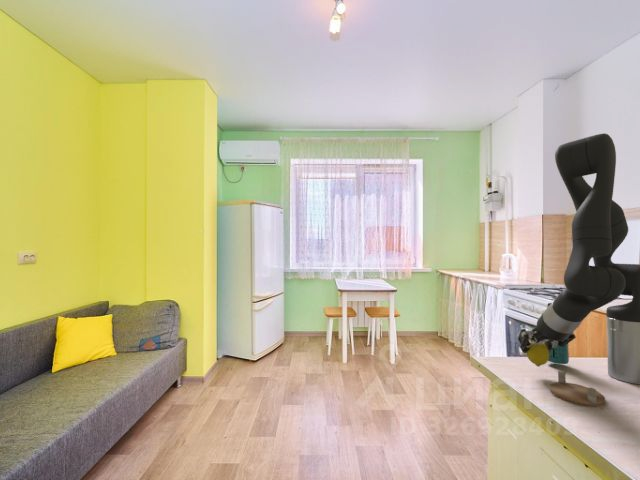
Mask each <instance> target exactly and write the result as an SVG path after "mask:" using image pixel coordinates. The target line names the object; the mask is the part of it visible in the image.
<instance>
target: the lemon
mask: <svg viewBox="0 0 640 480" xmlns="http://www.w3.org/2000/svg"><path fill="white" fill-rule="evenodd" d="M536 341H537V340H536ZM529 342H530V343H531V341H529ZM526 356H527V359H528V360H529V361H530V362H531V363H532V364H534V365H535V366H536V367H541V366H543V365H546V364H547V363H548V362H549V361H548V360H549V351H548V348H547V346H546V345H545V344H544V342H543V343H541V344H539V345H538V346H536V345H534V346H532V347H531V348H530V349H529V351H528V352H527V353H526Z"/></svg>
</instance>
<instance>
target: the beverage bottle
mask: <svg viewBox="0 0 640 480" xmlns="http://www.w3.org/2000/svg"><path fill="white" fill-rule="evenodd" d="M552 303H553V302H548V303H547V308H548V306H549V305H550V304H552ZM547 308H546V309H547ZM562 342H563V341H562ZM543 343H545V342H543ZM569 349H570V348H569V343H568V344H566V345H565V346H563V347H560V346H557V347H556V348H553V349H552V350H551V351H549V360H548V362H549V363H552V364H558V365H568V364H569V360H570V354H569Z"/></svg>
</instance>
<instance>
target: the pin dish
mask: <svg viewBox="0 0 640 480" xmlns="http://www.w3.org/2000/svg"><path fill="white" fill-rule="evenodd" d="M557 373H558V376H557V377H558V378H557V379H558V382H553V383H550V384H549V391H550V393H551V394H552V395H553V396H555V397H557V399H560V398H561V400H562V401H566V402H569V403H571V404H576V405H580V406H585V407H601V406H605V404H606V397H605V396H604V395H603V394H602V393H601V392H599V391H597V389H595V388H593V387H588V386H585V385H580V384H577V383H572V382H566V377H567V376H566V371H564V370H558V371H557Z"/></svg>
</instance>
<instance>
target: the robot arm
mask: <svg viewBox="0 0 640 480" xmlns="http://www.w3.org/2000/svg"><path fill="white" fill-rule="evenodd" d="M554 159H555V164H556V167H557V171H558V172H559V175H560V177H561V180H562V181H563V183H564V185H565V187H566V189H567V191H568V193H569V195H570V198H571V200H572V203H573V205H574V209H575V211H576V212H575V214H574V216H573V219H572V223H571V240H572V241H571V242H572V244H571V245H572V248H571V252H570V256H569V259H568V263H567V265H566V268H565V270H564V271H565V272H564V275H563V283H564V286H565V287H566V288H565V289H564V290H561V292H560V293H559V294H558V295H557V296H556V297H555V299H554V301H553V302H551V303H552V304H550V305H549V306H548V305H547V307H548V308H546V309H545V310H544V312H543V313H542V314H541V315H540V317H539V318H538V319H537V321H536V326H535V327H533V329H532V330H528V331H527V330H526V329H525V328H522V329H520V331H519V333H518V337H517V340H518V342H519V344H520V345H519V347H520V350H521V352H522V353H523V354H527V352H528V351H529V349H530V348H531V347H532V346H534V345H536V346H538V345H539V344H541V343H544V342H545V343H544V344H545V345H546V346H547V348H548V351H551V350H552V349H553V348H556V347H557V346H560V347H563V346H565V345H566V344H568V345H569V344H570V343H571V342H572V341H573V340H575V339H576V337H577V336H576V335H575V333H574V332H575V331H576V330H577V329H578V328H579V327H580V325H581V324H582V322H583V321H584V320H585V318H586V317H588V316H589V314H591V312H592V311H593V312H594V311H595V310H597V309H600V308H602V307H604V306H606V305H608V304H610V303H612V302H614V301H615V300H616V299H618V298H619V297H620V296H629V297H630V296H632V299H631V301H629V302H626V303H623V304H618V305H617V304H616V305H610V306H608V307H607V308H606V311H605V313H606V340H607V341H606V346H607V348H606V349H607V352H606V353H607V374H608V375H609V376H610V377H612V378H614V379H616V380H619V381H622V382H626V383H630V384H635V385H640V264H638V263H637V264H636V263H615V262H613V261H612V257H613V255H614V253H615V252H616V251H617V249H618V248H619V247H620V246H621V245H622V243H623V242H624V241H625V240H626V237H627V236H628V234H629V225H628V221H627V217H626V216H625V212H624V210H623V208H622V207H621V206H620V205H619V203H617V202H616V201H615V200H613V197H614V187H615V178H616V168H617V167H616V166H617V165H616V164H617V152H616V146H615V143H614V141H613V138H612V137H611V136H610V135H609V134H608V133H598V134H595V135H590V136H587V137H583V138H580V139H576V140H572V141H569V142H565V143H562V144H561V145H559V146H558V147H557V148H556V149H555V152H554ZM594 174H595V180H594V183H593V186H591V185H590V184H589V183H588V182H587V181H586V180H585V178H584V176H588V175H594ZM591 259H592V260H593V265H590V261H591ZM536 340H537V341H536ZM562 341H563V342H562ZM530 342H531V343H530Z"/></svg>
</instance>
